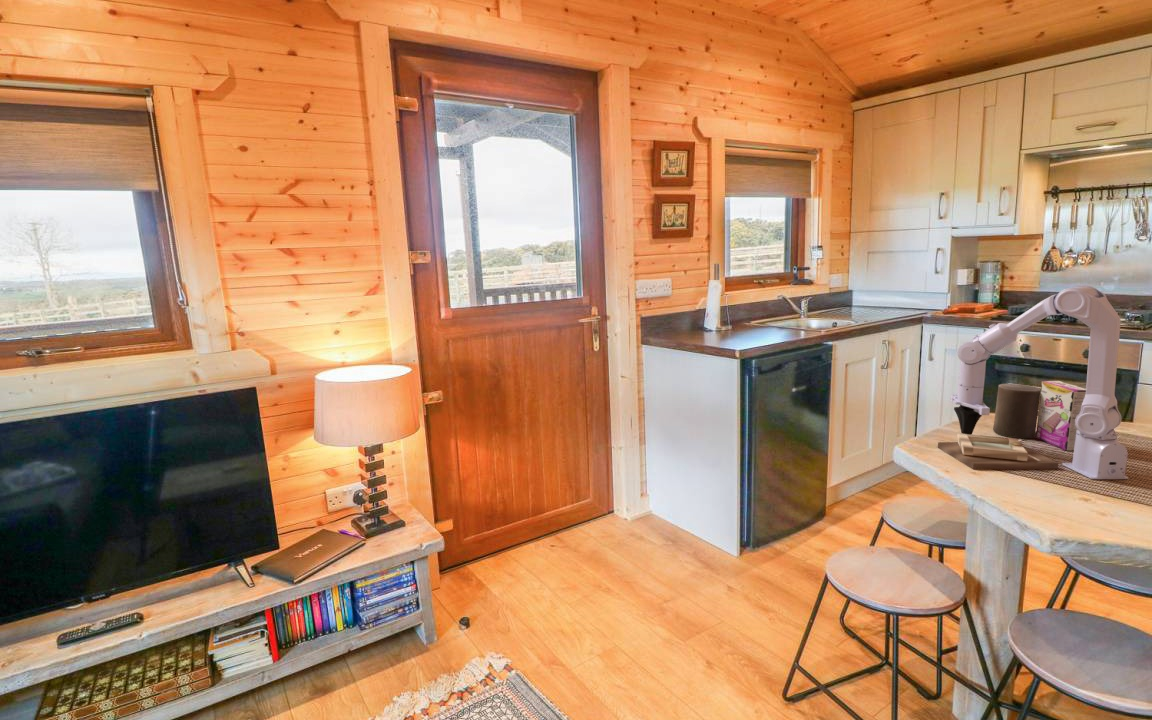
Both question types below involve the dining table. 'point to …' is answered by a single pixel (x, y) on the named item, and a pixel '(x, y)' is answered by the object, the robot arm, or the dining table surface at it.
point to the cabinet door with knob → (991, 447)
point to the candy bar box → (1059, 413)
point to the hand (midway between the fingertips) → (966, 433)
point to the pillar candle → (1016, 411)
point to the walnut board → (998, 459)
